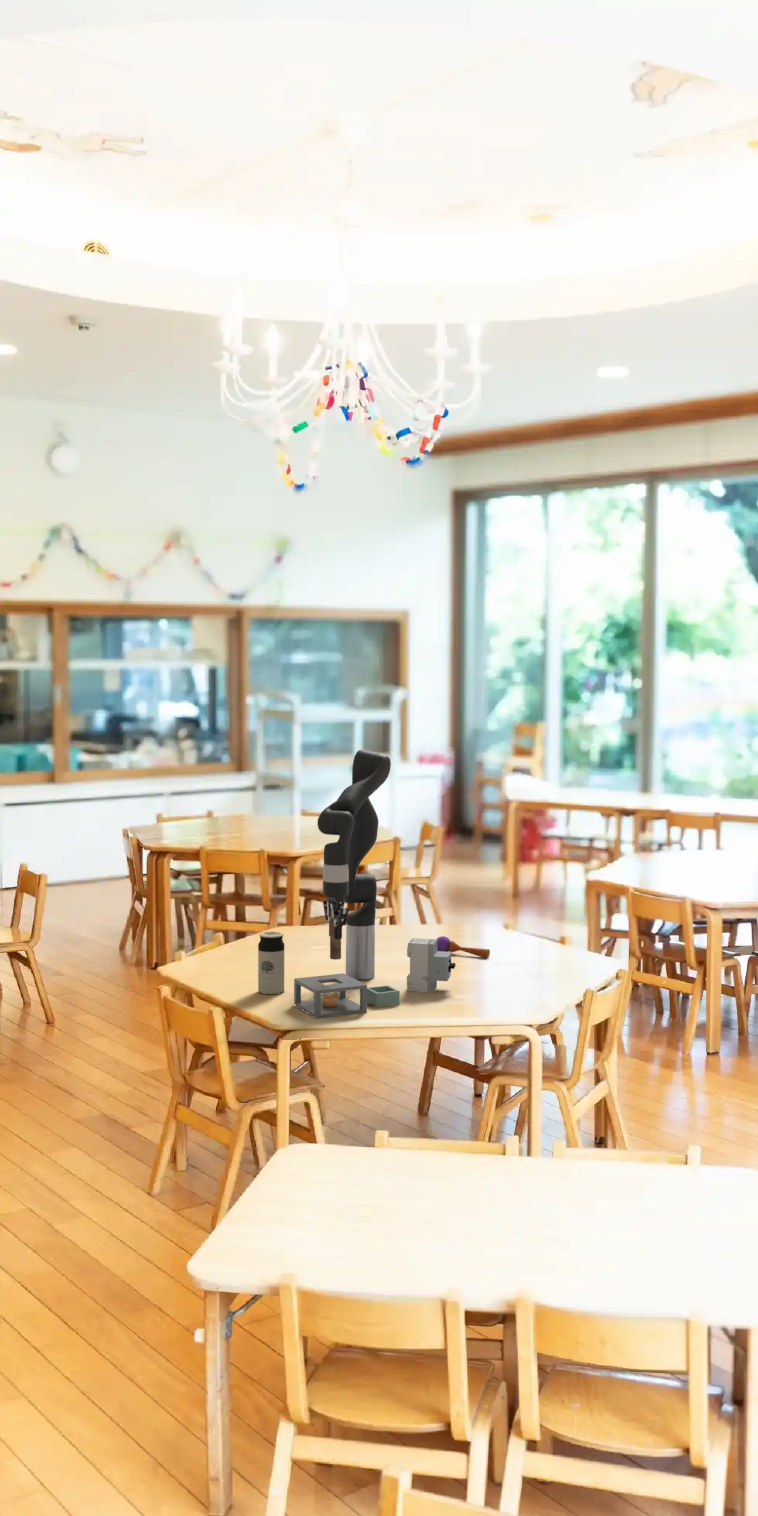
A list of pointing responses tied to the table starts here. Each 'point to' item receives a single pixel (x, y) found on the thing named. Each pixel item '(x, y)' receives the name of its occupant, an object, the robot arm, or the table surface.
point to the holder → (383, 996)
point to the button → (330, 999)
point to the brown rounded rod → (334, 941)
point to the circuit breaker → (427, 965)
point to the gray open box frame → (318, 988)
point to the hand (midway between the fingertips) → (335, 937)
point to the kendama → (459, 948)
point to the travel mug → (271, 963)
